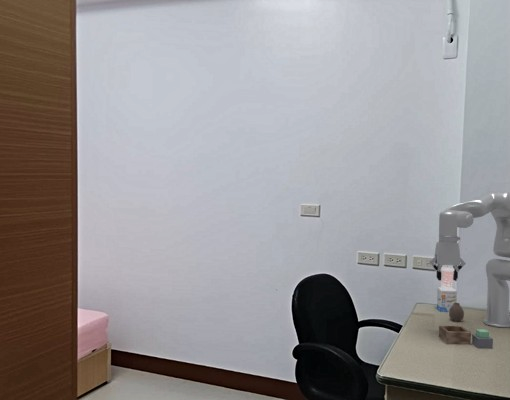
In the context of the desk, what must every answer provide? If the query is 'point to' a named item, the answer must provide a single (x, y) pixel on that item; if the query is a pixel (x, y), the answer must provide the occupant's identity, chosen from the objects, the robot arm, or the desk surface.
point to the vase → (456, 312)
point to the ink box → (446, 299)
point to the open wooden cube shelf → (454, 335)
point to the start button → (482, 333)
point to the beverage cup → (447, 277)
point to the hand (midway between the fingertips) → (447, 279)
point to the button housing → (482, 342)
